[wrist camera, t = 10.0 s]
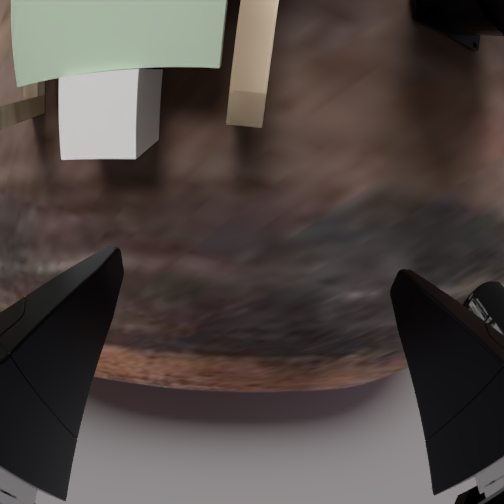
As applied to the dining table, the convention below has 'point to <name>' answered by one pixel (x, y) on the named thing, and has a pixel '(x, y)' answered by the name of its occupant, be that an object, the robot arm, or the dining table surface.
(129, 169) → the dining table surface
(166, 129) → the dining table surface
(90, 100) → the plain light gray cube
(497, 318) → the beverage can
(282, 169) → the dining table surface
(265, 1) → the trapdoor frame
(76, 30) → the trapdoor
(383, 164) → the dining table surface
